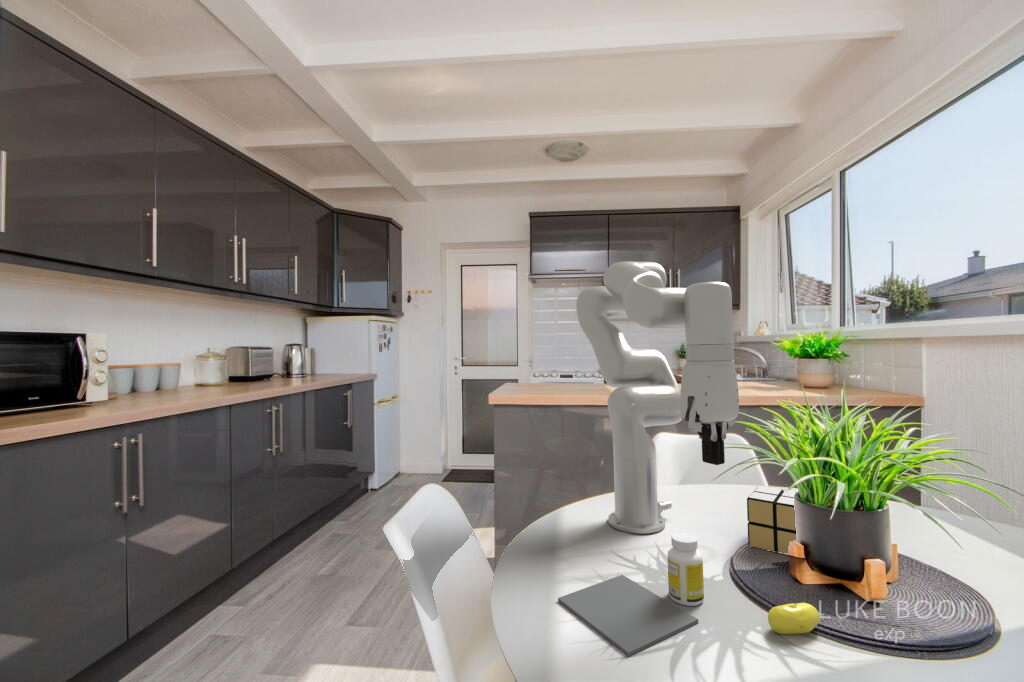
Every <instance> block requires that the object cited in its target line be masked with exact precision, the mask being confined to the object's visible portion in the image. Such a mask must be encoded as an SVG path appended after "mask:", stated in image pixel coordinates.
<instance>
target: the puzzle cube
mask: <svg viewBox="0 0 1024 682" xmlns="http://www.w3.org/2000/svg"><path fill="white" fill-rule="evenodd" d="M786 490H787V492H786ZM795 492H796V490H789V489H785V490H784V489H782V488H777V487H770V486H764V485H758V486H756V487H755V489H754V490H753V491H752V492H751V493H750V494H749V496H748V497H747V498H746V509H747V510H746V511H747V512H746V513H747V515H746V516H747V521H748V522H747V542H748V547H750V546H751V547H750V548H753V547H755V548H754V549H757V548H760V549H759V550H761V549H764V550H763V551H766V550H770V551H777V552H782V553H788V546H789V542H790V541H793V540H796V527H795V510H794V495H795ZM770 551H769V552H770ZM777 552H776V553H777Z"/></svg>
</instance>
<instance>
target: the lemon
mask: <svg viewBox="0 0 1024 682" xmlns="http://www.w3.org/2000/svg"><path fill="white" fill-rule="evenodd" d="M820 617H821V616H820V612H819V611H818V609H817V608H816V607H815V606H814V605H812V604H810V603H807V602H797V603H793V602H792V603H786V604H781V605H777V606H774V607H772V608H771V609H769V611H768V614H767V620H768V625H769V627H770V628H771V630H773V631H774V632H775V633H778V634H780V635H799V634H802V635H803V634H807V633H811V632H812V631H813V630H814V629H815V628H816V627H817V626H818V625H819V623H820V621H821V618H820Z"/></svg>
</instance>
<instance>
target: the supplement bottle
mask: <svg viewBox="0 0 1024 682" xmlns="http://www.w3.org/2000/svg"><path fill="white" fill-rule="evenodd" d="M670 539H671V546H672V547H670V548H669V549H668V551H667V576H668V577H667V579H668V580H667V581H668V582H667V584H668V595H669V597H670V599H671V600H672V601H673V602H675V603H677V604H678V605H679V604H680V605H682V606H686V607H687V606H688V607H689V606H691V607H696V606H699V605H701V604H702V603H703V602H704V600H705V588H704V587H705V585H704V584H705V582H704V566H703V565H704V560H703V554H702V553H701V552H700V550H699V549H698V546H699V544H698V538H697V537H696V535H693V534H690V533H686V532H677V533H676V532H675V533H674V534H671V538H670Z"/></svg>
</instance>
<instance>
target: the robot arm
mask: <svg viewBox="0 0 1024 682" xmlns="http://www.w3.org/2000/svg"><path fill="white" fill-rule="evenodd" d="M602 279H603V280H602V281H603V284H604V285H600V286H597V285H596V286H592V287H587V288H585V289H583V290H581V291H580V293H578V295H577V299H576V305H575V306H576V315H577V320H578V321H577V322H578V324H579V326H580V328H581V330H582V332H583V334H584V335H585V337H586V338H587V340H588V341H589V343H590V344H591V347H592V349H593V352H594V354H595V358H596V361H597V362H598V366H599V369H600V371H601V374H602V377H603V379H604V382H605V383H606V385H608V386H609V387H611V388H614V390H613V391H611V392H610V393H609V395H608V398H607V411H608V415H609V416H608V417H609V421H610V426H611V433H612V434H611V435H612V450H613V451H612V452H613V453H612V454H613V480H614V481H613V483H614V484H613V485H614V487H613V488H614V491H613V492H614V511H612V512H611V513H610V514H609V515H608V523H609V525H610V526H611V527H613V528H614V529H616V530H618V531H621V532H625V533H629V534H630V533H631V534H640V535H642V534H655V533H657V532H660V531H662V530H664V529H665V527H666V520H665V518H664V517H663V516H662V515H661V514H662V513H663V511H666V510H669V509H670V510H671V509H672V502H671V501H670V500H663V501H661V502H660V501H659V500H658V479H657V478H658V477H657V474H658V473H657V471H658V470H657V450H656V445H655V442H654V440H653V439H652V437H651V436H650V435H649V433H648V432H647V430H646V428H649V427H658V426H659V427H660V426H670V425H675V424H678V423H680V422H681V421H684V422H688V425H687V430H688V431H692V432H696V433H697V434H698V439H700V440H701V455H702V456H701V457H702V459H701V460H702V462H704V463H706V464H710V465H714V466H720V465H723V464H725V461H726V460H725V457H726V456H725V440H726V439H727V431H728V429H730V427H732V426H734V425H735V423H736V422H735V421H736V420H735V419H736V418H737V417H738V416H739V413H740V394H739V386H738V384H739V383H738V378H737V371H736V367H735V353H734V352H735V351H734V350H735V348H734V323H733V321H734V320H733V303H732V302H733V300H732V299H733V297H732V296H733V294H732V289H731V286H730V284H728V283H726V282H721V281H707V282H705V281H704V282H697V283H692V284H690V285H688V286H687V287H666V285H667V281H668V279H667V273H666V271H665V269H664V267H663V266H662V265H661V264H659V263H657V262H653V261H619V262H615V263H613V264H611V265H609V267H607V269H606V270H605V272H604V274H603V278H602ZM608 319H615V320H616V319H630V320H631V321H632V322H634V323H636V324H638V325H639V326H641V327H644V328H647V329H684V330H685V331H684V332H685V358H686V362H685V363H684V364H683V368H682V373H681V382H680V386H679V384H678V382H677V379H676V376H675V374H674V372H673V371H672V368H671V367H670V364H669V362H668V360H667V359H666V357H665V355H664V354H663V353H662V352H661V351H659V350H657V349H653V348H633V347H631V346H630V345H629V344H628V341H627V338H626V336H625V334H624V333H623V332H622V330H621V329H620V328H618V327H617V325H615V324H614V323H612V322H611V321H610V320H608Z"/></svg>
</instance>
